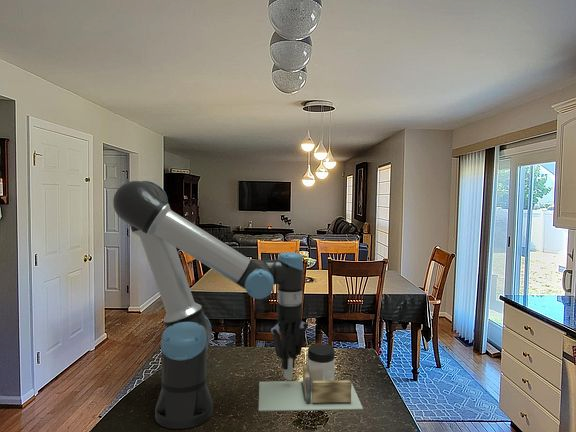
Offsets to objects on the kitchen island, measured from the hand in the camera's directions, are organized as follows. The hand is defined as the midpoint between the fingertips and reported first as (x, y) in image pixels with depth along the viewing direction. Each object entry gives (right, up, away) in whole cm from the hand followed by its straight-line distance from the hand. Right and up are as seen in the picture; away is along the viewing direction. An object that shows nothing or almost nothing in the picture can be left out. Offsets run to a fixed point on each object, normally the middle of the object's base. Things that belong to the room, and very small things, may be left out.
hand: (287, 378), depth 129 cm
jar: (+10, -3, -1) cm, 10 cm away
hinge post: (+6, -3, -10) cm, 12 cm away
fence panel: (+5, -2, -4) cm, 7 cm away
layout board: (+6, -3, -5) cm, 9 cm away
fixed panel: (+12, -3, -10) cm, 16 cm away
